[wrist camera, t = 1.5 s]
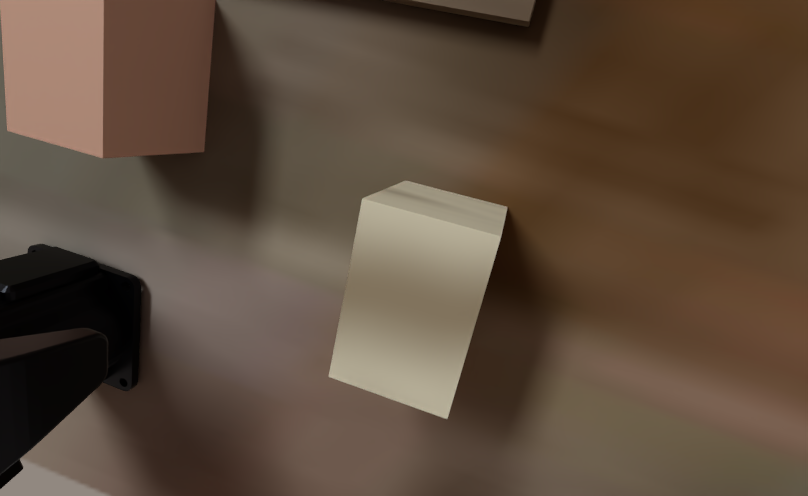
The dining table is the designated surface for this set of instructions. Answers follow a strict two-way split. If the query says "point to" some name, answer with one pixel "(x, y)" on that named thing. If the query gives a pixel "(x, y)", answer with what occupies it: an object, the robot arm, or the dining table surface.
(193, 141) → the terracotta brick
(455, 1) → the walnut board
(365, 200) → the birch brick
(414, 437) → the dining table surface
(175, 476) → the dining table surface
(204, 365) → the dining table surface
